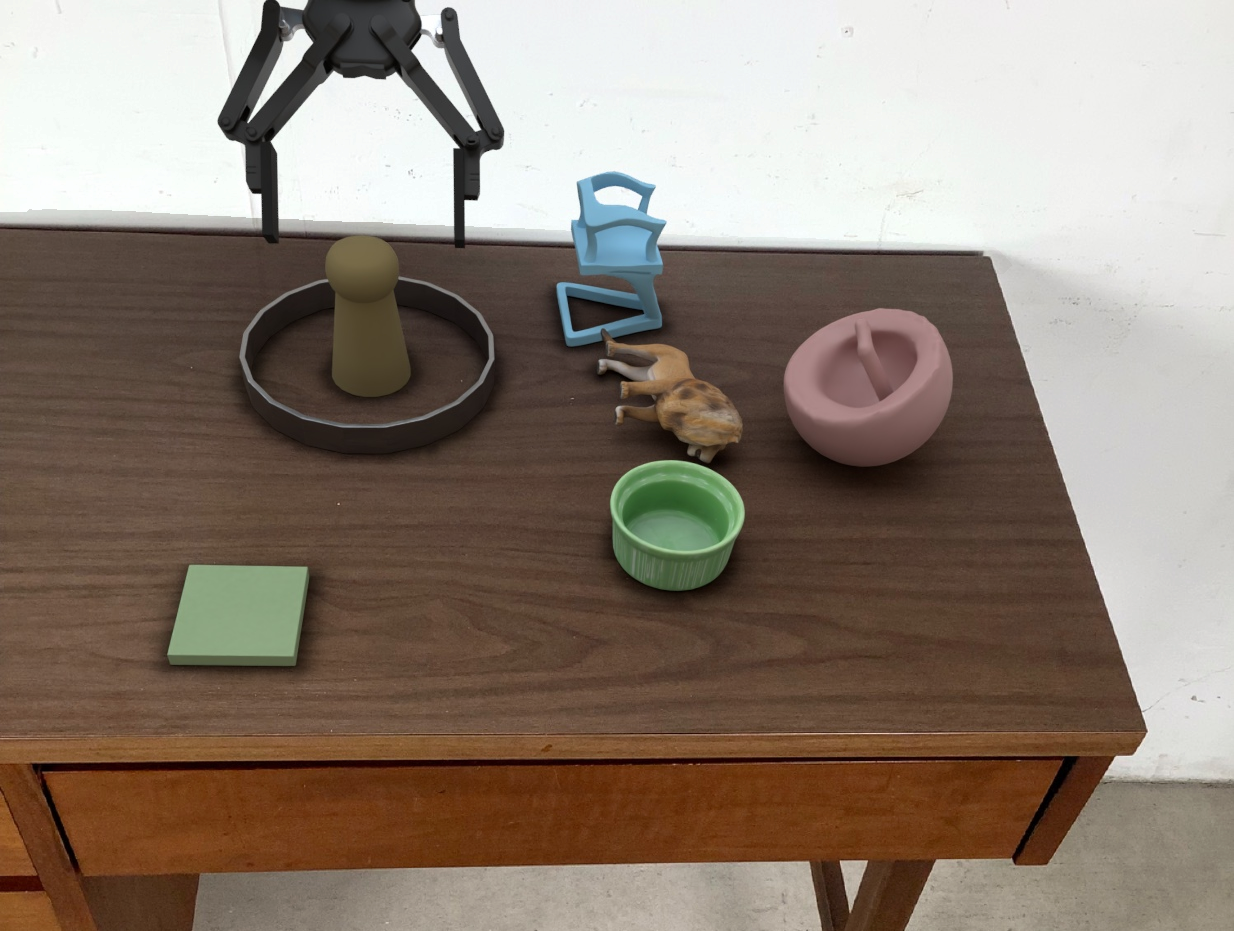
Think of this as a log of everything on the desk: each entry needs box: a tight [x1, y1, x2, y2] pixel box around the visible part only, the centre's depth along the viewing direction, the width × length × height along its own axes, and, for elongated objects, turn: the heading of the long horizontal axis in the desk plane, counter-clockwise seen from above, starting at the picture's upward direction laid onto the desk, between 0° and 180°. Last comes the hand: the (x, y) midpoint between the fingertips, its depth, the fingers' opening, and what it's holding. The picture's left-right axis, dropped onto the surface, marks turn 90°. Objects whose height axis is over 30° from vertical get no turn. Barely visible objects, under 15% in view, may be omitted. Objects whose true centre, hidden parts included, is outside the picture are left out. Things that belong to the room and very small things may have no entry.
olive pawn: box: [324, 234, 412, 398], centre depth 90 cm, size 6×6×11 cm
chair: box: [556, 170, 668, 347], centre depth 97 cm, size 8×8×12 cm
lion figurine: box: [596, 328, 744, 464], centre depth 92 cm, size 15×5×9 cm
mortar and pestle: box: [782, 307, 954, 468], centre depth 89 cm, size 12×12×12 cm
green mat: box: [166, 564, 310, 667], centre depth 77 cm, size 8×8×1 cm
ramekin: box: [609, 459, 746, 592], centre depth 82 cm, size 9×9×4 cm
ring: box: [238, 275, 495, 455], centre depth 93 cm, size 19×19×2 cm
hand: (365, 242), depth 89 cm, fingers open, 13 cm apart
